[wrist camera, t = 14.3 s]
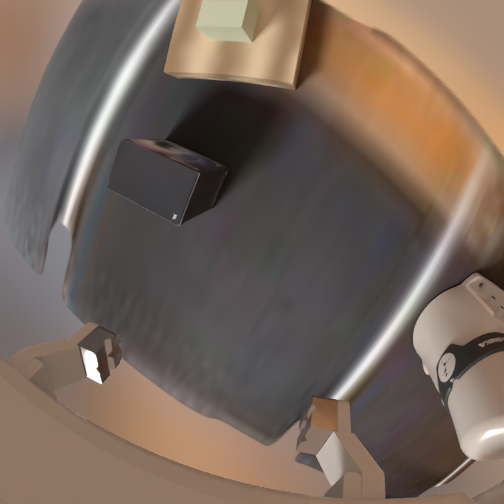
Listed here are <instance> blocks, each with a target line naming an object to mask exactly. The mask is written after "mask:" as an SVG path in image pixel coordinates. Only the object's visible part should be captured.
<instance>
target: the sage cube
mask: <svg viewBox="0 0 504 504" xmlns="http://www.w3.org/2000/svg"><path fill="white" fill-rule="evenodd" d="M259 10H260V8H259V6H258V4H257V2H256V0H203V2H202V5H201V9H200V12H199V16H198V20H197V23H196V27H197V28H198V29H199V30H200V31H201V32H203V33H204V34H205V35H206V36H207V37H208V38H209V39H210V40H213V41H237V42H251V43H252V41H253V36H254V32H255V27H256V23H257V19H258V14H259Z"/></svg>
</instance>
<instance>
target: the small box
mask: <svg viewBox="0 0 504 504" xmlns="http://www.w3.org/2000/svg"><path fill="white" fill-rule="evenodd" d="M228 171H229V168H228V167H227V166H225V165H222V164H220V163H218V162H216V161H214V160H211V159H209V158H207V157H205V156H202V155H200V154H198V153H196V152H194V151H191V150H189V149H187V148H184V147H182V146H180V145H177V144H175V143H173V142H170V141H168V140H163V139H122V140H121V143H120V145H119V148H118V151H117V155H116V158H115V161H114V164H113V168H112V171H111V175H110V178H109V182H108V186H107V188H108V189H110V190H112V191H114V192H115V193H117V194H119V195H121V196H123V197H125V198H127V199H129V200H130V201H132V202H134V203H136V204H138V205H140V206H142V207H143V208H145V209H147V210H149V211H151V212H153V213H155V214H157V215H159V216H160V217H162V218H164V219H166V220H168V221H170V222H172V223H174V224H176V225H178V226H180V225H182V224H183V223H184V222H186V221H188V220H190V219H192V218H194V217H196V216H197V215H199V214H201V213H203V212H205V211H207V210H209V209H212V208H214V205H215V202H216V200H217V197H218V194H219V193H220V190H221V188H222V185H223V183H224V181H225V179H226V177H227V174H228Z"/></svg>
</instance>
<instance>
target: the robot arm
mask: <svg viewBox="0 0 504 504" xmlns="http://www.w3.org/2000/svg"><path fill="white" fill-rule="evenodd" d="M480 283H481V285H480V286H479V284H480ZM119 343H120V336H119V335H118V334H116V333H114V332H111V331H109V330H107V329H105V328H103V327H101V326H99V325H97V324H95V323H93V322H89V323H87V324H86V325H85V326H84V327H82V328H81V329H80V330H79V331H78V332H77V333H76V334H74V335H73V336H72V337H71V338H70V339H68V340H67V339H62V340H58V341H54V342H49V343H44V344H40V345H35V346H30V347H25V348H23V349H21V350H20V351H19V352H18V353H17V354H15V355H14V356H13V357H12V358H11V359H9V360H8V361H5V360H4V359H3V358H2V357H1V356H0V504H504V481H502V482H500V483H499V484H497V485H495V486H494V487H492V488H490V489H489V490H487V491H485V492H483V493H481V494H480V495H478V496H476V497H474V498H470V497H469V496H468V495H467V494H465V493H464V492H453V493H447V494H441V495H434V496H424V497H414V498H398V499H385V480H384V472H383V471H382V470H381V468H380V467H379V466H378V465H377V463H376V462H375V461H374V459H373V458H372V457H371V455H370V454H369V453H368V451H367V450H366V449H365V447H364V446H363V445H362V443H361V442H360V441H359V439H358V438H357V437H356V435H355V434H353V433H351V424H350V403H349V402H348V401H342V400H336V399H330V398H324V397H319V396H313V395H312V396H311V397H310V399H309V401H308V407H306V408H305V409H304V411H303V414H302V417H301V420H300V425H299V430H300V432H301V433H300V435H299V436H298V438H297V445H296V451H299V452H304V453H309V454H315V455H316V457H317V459H318V461H319V463H320V465H321V467H322V469H323V471H324V473H325V475H326V477H327V479H328V481H329V482H330V484H331V488H330V489H329V490H327V491H326V492H325V493H324V494H323V495H322V496H311V495H304V494H296V493H290V492H284V491H279V490H273V489H268V488H263V487H259V486H254V485H250V484H245V483H242V482H237V481H234V480H230V479H226V478H223V477H219V476H216V475H213V474H209V473H206V472H203V471H200V470H197V469H194V468H191V467H188V466H186V465H183V464H180V463H178V462H175V461H172V460H170V459H167V458H165V457H162V456H160V455H157V454H155V453H153V452H150V451H148V450H146V449H144V448H141V447H139V446H137V445H135V444H133V443H131V442H129V441H127V440H125V439H123V438H120V437H119V436H116V435H115V434H113V433H111V432H109V431H107V430H105V429H103V428H102V427H100V426H98V425H96V424H94V423H93V422H91V421H89V420H88V419H86V418H84V417H82V416H81V415H79V414H77V413H76V412H74V411H73V410H71V409H70V408H68V407H66V406H65V405H63V404H62V403H60V402H59V401H57V398H56V395H55V393H54V390H57V389H59V388H62V387H64V386H66V385H69V384H71V383H74V382H76V381H79V380H81V379H84V378H86V376H87V377H89V378H91V379H93V380H95V381H97V382H99V383H101V384H102V383H103V382H104V381H105V380H106V379H107V377H108V376H109V375H110V370H112V369H115V368H116V367H117V366H118V365H119V363H120V360H121V356H122V351H121V348H120V347H119V345H118V344H119ZM413 344H414V347H415V350H416V352H417V353H418V355H419V356H420V357H421V359H422V361H423V369H424V371H425V373H426V374H428V375H430V376H431V378H432V380H433V382H434V384H435V385H436V387H437V389H438V391H439V393H440V395H441V398H442V399H441V400H442V403H443V405H444V406H445V408H446V410H447V412H449V413H450V414H451V417H452V420H453V423H454V426H455V430H456V433H457V436H458V440H459V443H460V447H461V449H462V451H463V452H464V453H465V455H467V456H468V457H469V458H471V459H474V460H479V461H490V460H497V459H502V458H504V290H502V289H501V288H499V287H498V286H497V285H495V284H494V283H492V282H491V281H489V280H488V279H486V278H485V277H483V276H482V275H480V274H479V273H474V274H472V275H471V276H469V277H468V278H467V279H466V280H465V281H464V282H463V283H462V284H460V285H458V286H456V287H454V288H451V289H449V290H447V291H445V292H443V293H442V294H440V295H439V296H437V297H436V298H435V299H434V300H432V301H431V302H430V303H429V304H428V306H427V307H426V308H425V309H424V310H423V312H422V313H421V315H420V317H419V318H418V320H417V323H416V325H415V328H414V333H413Z"/></svg>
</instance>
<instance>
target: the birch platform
mask: <svg viewBox="0 0 504 504" xmlns="http://www.w3.org/2000/svg"><path fill="white" fill-rule="evenodd" d="M202 2H203V0H182V3H181V6H180V9H179V13H178V16H177V20H176V23H175V27H174V31H173V35H172V39H171V43H170V47H169V51H168V55H167V59H166V64H165V68H164V73H167V74H169V75H172V76H174V77H176V78H192V79H211V80H224V81H234V82H244V83H252V84H260V85H267V86H274V87H280V88H286V89H292V90H295V89H296V84H297V79H298V74H299V68H300V63H301V58H302V53H303V47H304V42H305V36H306V31H307V26H308V20H309V15H310V9H311V4H312V0H256V2H257V4H258V6H259V8H260V10H259V14H258V19H257V23H256V27H255V32H254V36H253V41H252V43H251V42H237V41H213V40H210V39H209V38H208V37H207V36H206V35H205V34H204V33H203V32H201V31H200V30H199V29H198V28H197V27H196V23H197V20H198V16H199V12H200V9H201V5H202Z"/></svg>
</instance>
